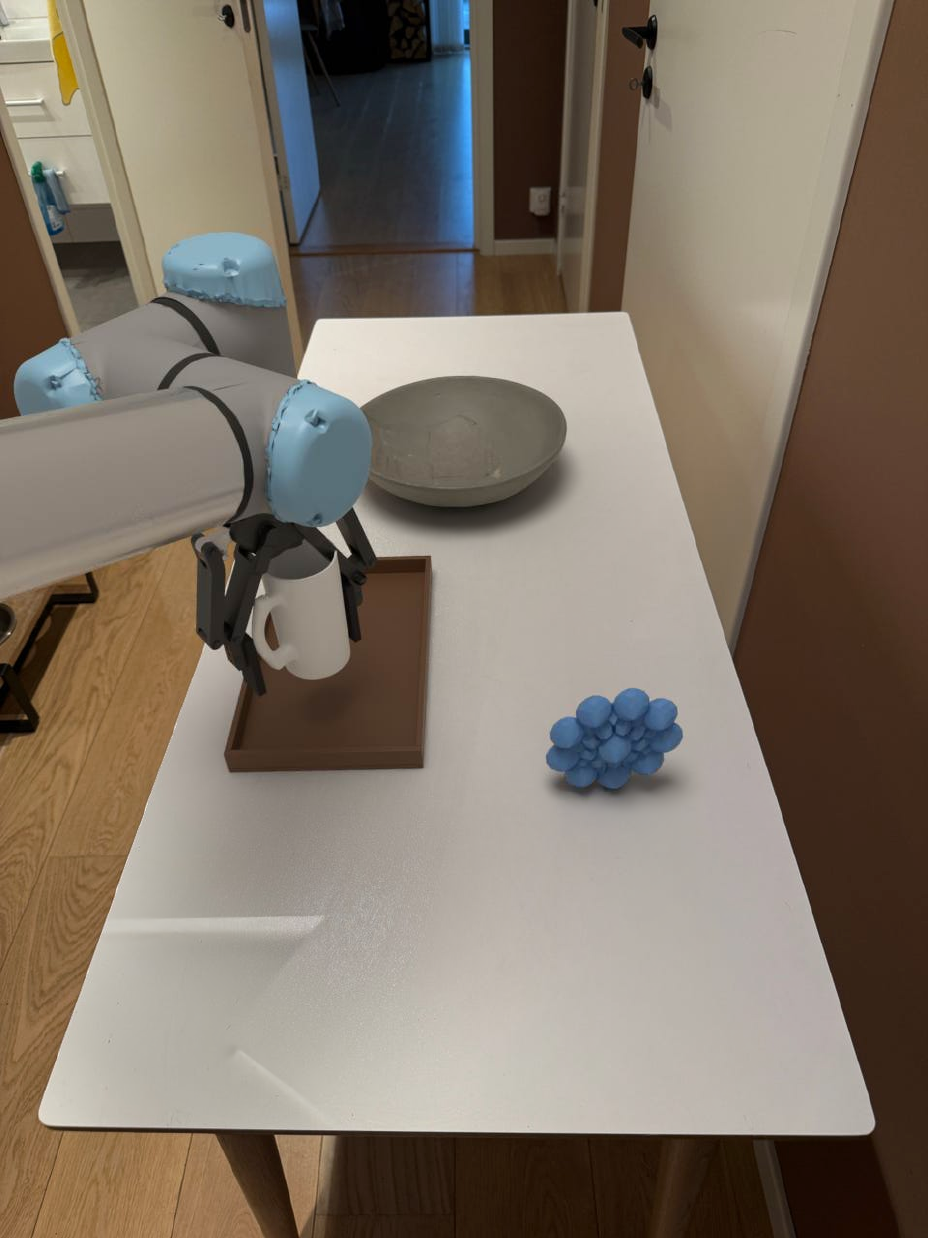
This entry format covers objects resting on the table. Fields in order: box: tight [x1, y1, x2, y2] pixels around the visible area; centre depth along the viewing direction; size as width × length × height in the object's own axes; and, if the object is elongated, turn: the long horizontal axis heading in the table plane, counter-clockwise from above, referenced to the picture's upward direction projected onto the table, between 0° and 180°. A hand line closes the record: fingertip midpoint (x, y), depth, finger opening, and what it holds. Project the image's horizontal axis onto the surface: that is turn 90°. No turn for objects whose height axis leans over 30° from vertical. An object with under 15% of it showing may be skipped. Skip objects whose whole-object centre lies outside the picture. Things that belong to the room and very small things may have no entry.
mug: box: [251, 537, 350, 680], centre depth 82 cm, size 10×7×12 cm, turn 146°
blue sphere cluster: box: [545, 687, 684, 790], centre depth 80 cm, size 12×7×12 cm, turn 90°
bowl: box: [359, 375, 568, 508], centre depth 119 cm, size 27×28×8 cm
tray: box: [223, 554, 433, 773], centre depth 96 cm, size 29×18×2 cm, turn 0°
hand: (304, 659), depth 85 cm, fingers closed on mug, 10 cm apart
